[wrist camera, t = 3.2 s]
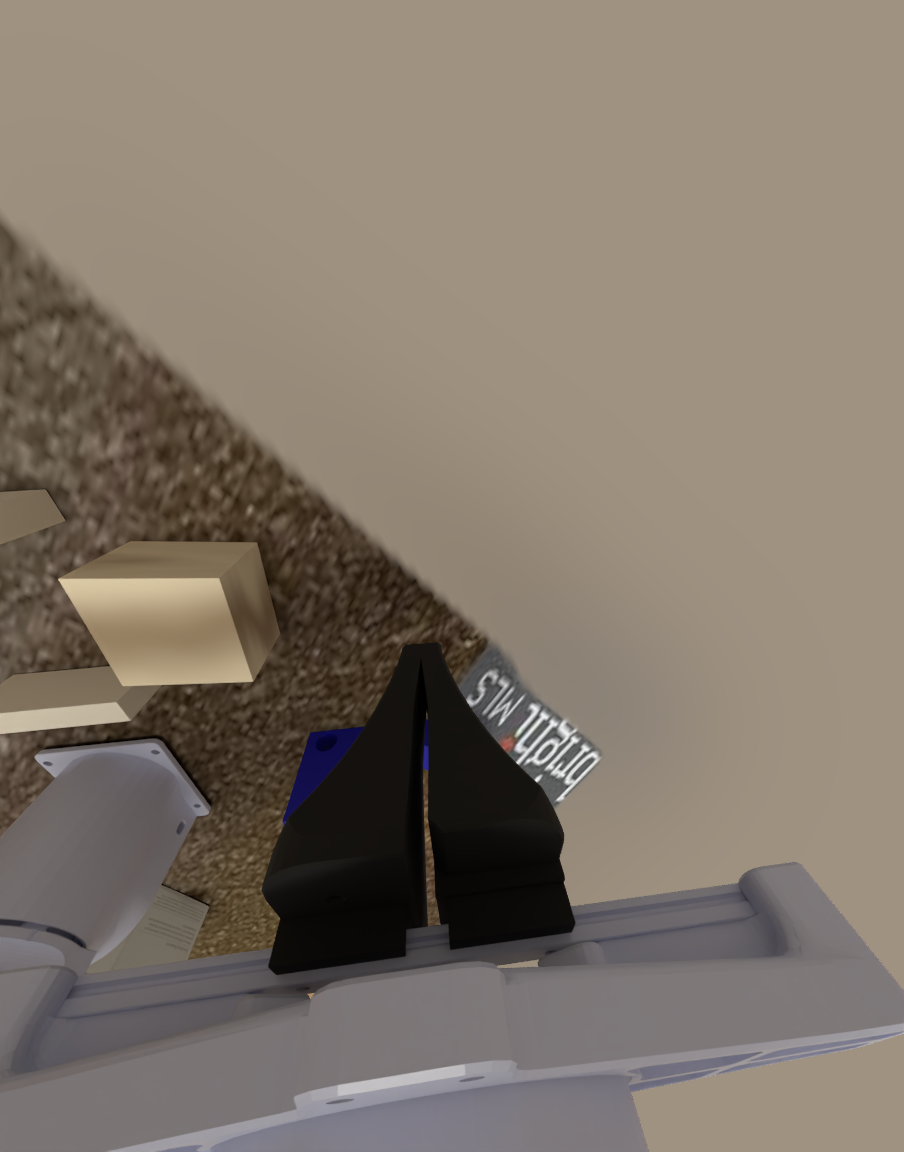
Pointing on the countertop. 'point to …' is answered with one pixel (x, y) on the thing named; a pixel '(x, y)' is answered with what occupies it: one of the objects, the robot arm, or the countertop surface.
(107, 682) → the cream parallel guide rails
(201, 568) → the beech block
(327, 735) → the blue arch block
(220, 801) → the countertop surface
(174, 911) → the supplement box
